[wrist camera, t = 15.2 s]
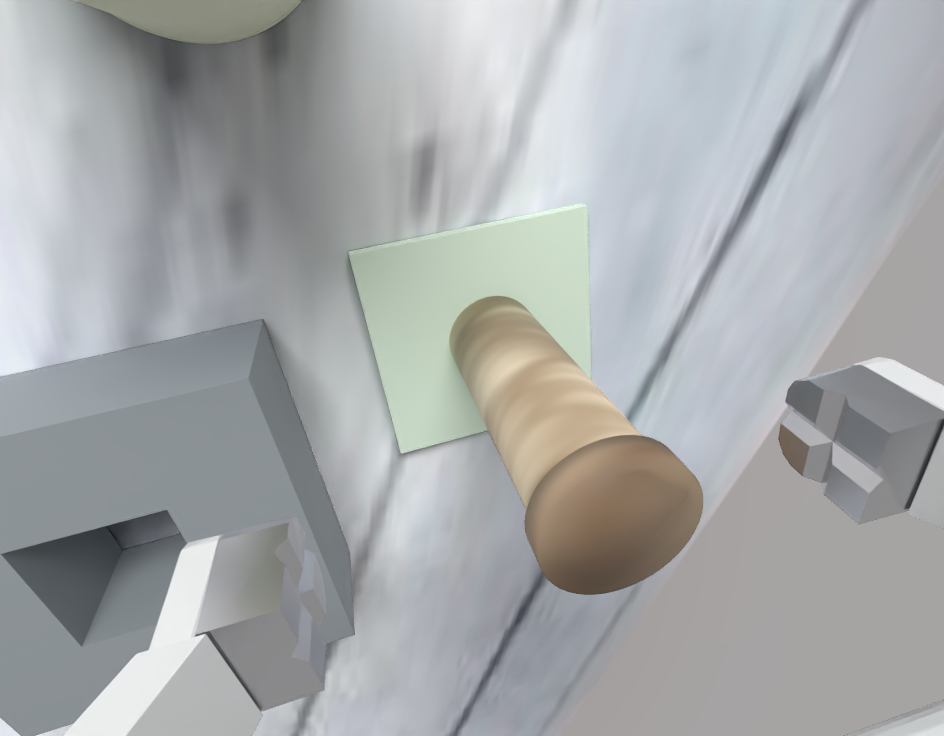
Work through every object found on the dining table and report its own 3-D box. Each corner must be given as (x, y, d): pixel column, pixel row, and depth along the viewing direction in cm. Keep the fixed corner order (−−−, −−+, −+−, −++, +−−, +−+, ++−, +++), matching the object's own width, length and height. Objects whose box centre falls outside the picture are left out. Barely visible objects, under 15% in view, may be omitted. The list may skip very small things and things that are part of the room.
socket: (262, 319, 21) (247, 378, 17) (349, 551, 28) (354, 634, 24) (-126, 404, 19) (-253, 496, 15) (72, 632, 26) (24, 738, 22)
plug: (535, 278, 23) (709, 436, 13) (544, 367, 25) (697, 562, 15) (433, 304, 22) (528, 492, 12) (452, 393, 25) (546, 615, 14)
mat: (581, 203, 22) (587, 206, 22) (586, 396, 27) (592, 402, 27) (348, 251, 21) (348, 255, 20) (399, 446, 26) (401, 453, 25)
